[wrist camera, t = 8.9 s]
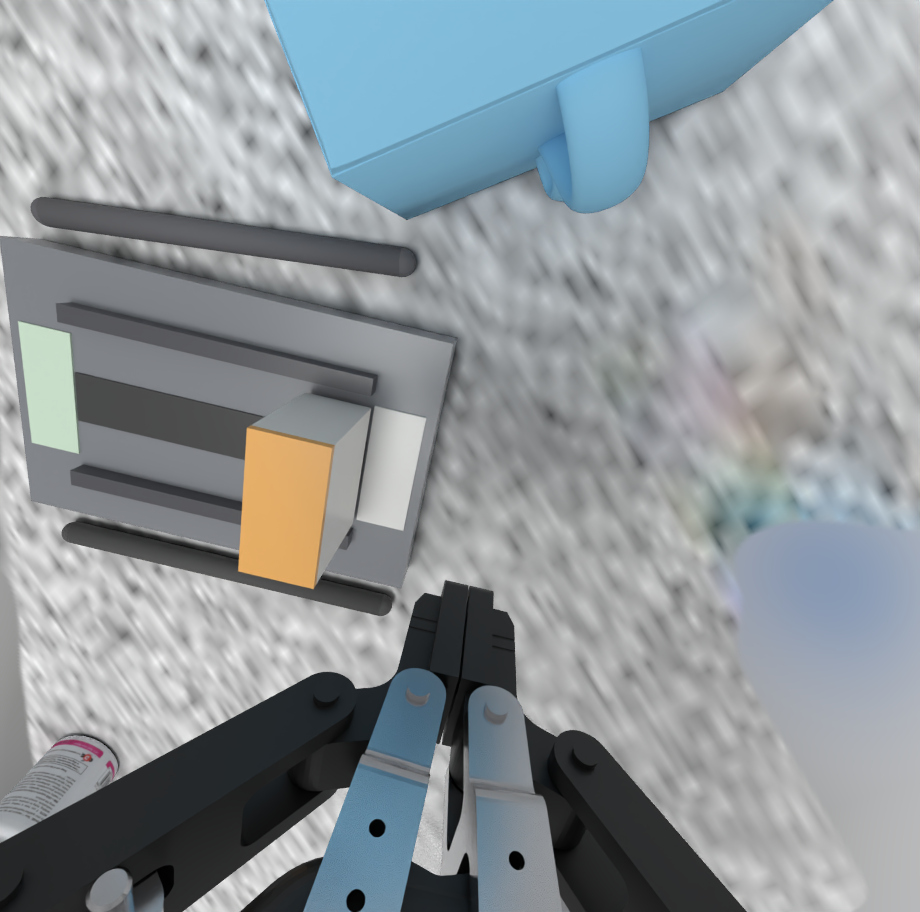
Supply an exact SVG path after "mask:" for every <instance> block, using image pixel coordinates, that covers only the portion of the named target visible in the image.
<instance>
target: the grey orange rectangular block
mask: <svg viewBox="0 0 920 912" xmlns="http://www.w3.org/2000/svg"><path fill="white" fill-rule="evenodd" d="M370 412H371V408H369V407H365V406H361V405H356V404H352V403H348V402H344V401H340V400H335V399H331V398H327V397H323V396H319V395H314V394H310V393H304V394H302V395H301V396H299V397H297V398H296V399H294V400H292V401H291V402H289V403H287V404H286V405H284V406H282V407H281V408H279V409H277V410H276V411H274V412H272V413H271V414H269V415H267V416H266V417H264V418H262V419H261V420H259V421H257V422H256V423H254V424H252V425H251V426H249V427H247V434H246V451H245V467H244V484H243V500H242V516H241V533H240V549H239V566H238V571H239V572H243V573H247V574H252V575H256V576H260V577H264V578H269V579H273V580H277V581H281V582H285V583H290V584H294V585H298V586H302V587H307V588H311V589H314V587H315V586H316V584H317V582H318V581H319V579H320V577H321V576H322V574H323V572H324V571H325V569H326V567H327V566H328V564H329V562H330V561H331V559H332V557H333V556H334V554H335V552H336V551H337V549H338V547H339V546H340V544H341V542H342V541H343V539H344V537H345V536H346V534H347V532H348V531H349V529H350V527H351V526H352V524H353V519H354V513H355V507H356V501H357V494H358V488H359V482H360V475H361V469H362V463H363V457H364V450H365V444H366V438H367V431H368V425H369V419H370Z"/></svg>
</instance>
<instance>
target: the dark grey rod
mask: <svg viewBox="0 0 920 912" xmlns="http://www.w3.org/2000/svg"><path fill="white" fill-rule="evenodd" d="M62 537H63V539H64V540H66V541H67V542H70V543H74V544H78V545H82V546H87V547H91V548H95V549H99V550H104V551H108V552H112V553H116V554H120V555H125V556H129V557H133V558H137V559H141V560H146V561H150V562H154V563H158V564H163V565H167V566H171V567H175V568H179V569H184V570H188V571H192V572H196V573H201V574H205V575H209V576H213V577H217V578H222V579H226V580H230V581H234V582H239V583H243V584H247V585H251V586H255V587H260V588H264V589H268V590H272V591H276V592H281V593H285V594H289V595H293V596H298V597H302V598H306V599H310V600H314V601H319V602H323V603H327V604H331V605H336V606H340V607H344V608H348V609H352V610H357V611H361V612H365V613H369V614H374V615H378V616H384V615H386V614H388V613H389V612H390V610H391V608H392V601H391V599H390V597H388V596H387V595H385V594H381V593H377V592H372V591H368V590H364V589H360V588H355V587H351V586H347V585H343V584H339V583H334V582H330V581H326V580H322V579H319V581H318V582H317V584H316V586H315V587H314V589H311V588H307V587H302V586H298V585H294V584H290V583H285V582H281V581H277V580H273V579H269V578H264V577H260V576H256V575H252V574H247V573H243V572H239V571H238V566H239V560H237V559H233V558H229V557H225V556H221V555H216V554H212V553H208V552H204V551H199V550H195V549H191V548H187V547H183V546H178V545H174V544H170V543H166V542H161V541H157V540H153V539H149V538H145V537H140V536H136V535H132V534H128V533H124V532H119V531H115V530H111V529H107V528H102V527H98V526H94V525H90V524H86V523H81V522H72V523H69V524H67V525H66V526H65V527H64V528H63V530H62Z"/></svg>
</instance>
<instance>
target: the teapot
mask: <svg viewBox="0 0 920 912" xmlns="http://www.w3.org/2000/svg"><path fill="white" fill-rule="evenodd" d="M264 1H265V3H266V6H267V9H268V11H269V14H270V16H271V19H272V22H273V24H274V27H275V29H276V32H277V35H278V37H279V40H280V42H281V45H282V48H283V50H284V53H285V56H286V58H287V61H288V63H289V66H290V69H291V71H292V74H293V76H294V79H295V82H296V84H297V87H298V89H299V92H300V95H301V97H302V100H303V102H304V105H305V108H306V110H307V113H308V116H309V118H310V121H311V123H312V126H313V129H314V131H315V134H316V136H317V139H318V142H319V144H320V147H321V149H322V152H323V155H324V157H325V160H326V162H327V165H328V168H329V170H330V173H331V175H332V178H334V179H336V180H338V181H339V182H341V183H343V184H345V185H346V186H348V187H350V188H352V189H353V190H355V191H357V192H359V193H361V194H362V195H364V196H366V197H368V198H369V199H371V200H373V201H375V202H376V203H378V204H380V205H382V206H383V207H385V208H387V209H389V210H390V211H392V212H394V213H396V214H398V215H399V216H401V217H403V218H405V219H406V220H408V219H410V218H413V217H415V216H418V215H420V214H423V213H425V212H428V211H430V210H433V209H435V208H438V207H440V206H443V205H445V204H448V203H450V202H453V201H455V200H458V199H460V198H463V197H465V196H468V195H470V194H473V193H475V192H478V191H480V190H483V189H485V188H487V187H490V186H492V185H495V184H497V183H500V182H502V181H505V180H507V179H510V178H512V177H515V176H517V175H520V174H522V173H525V172H527V171H530V170H532V169H534V168H537V169H538V172H539V175H540V178H541V181H542V184H543V187H544V189H545V192H546V193H547V195H548V196H549V197H550V198H551V199H553V200H556V201H564V202H565V204H566V205H567V206H568V207H569V208H570V209H571V210H573V211H576V212H578V213H594V212H599V211H602V210H605V209H608V208H611V207H613V206H615V205H617V204H619V203H620V202H622V201H624V200H625V199H626V198H628V197H629V196H630V195H631V194H632V193H633V192H634V191H635V190H636V189H637V188H638V186H639V185H640V183H641V181H642V179H643V176H644V174H645V170H646V166H647V159H648V149H649V122H650V121H652V120H655V119H657V118H660V117H662V116H665V115H667V114H670V113H672V112H674V111H677V110H679V109H682V108H684V107H687V106H689V105H692V104H694V103H696V102H699V101H701V100H704V99H706V98H709V97H711V96H713V95H716V94H718V93H721V92H723V91H724V90H725V89H726V88H728V87H729V86H730V85H731V84H733V83H734V82H735V81H736V80H737V79H739V78H740V77H741V76H742V75H743V74H745V73H746V72H747V71H748V70H750V69H751V68H752V67H753V66H754V65H756V64H757V63H758V62H759V61H760V60H762V59H763V58H764V57H765V56H766V55H768V54H769V53H770V52H771V51H773V50H774V49H775V48H776V47H777V46H779V45H780V44H781V43H782V42H783V41H785V40H786V39H787V38H788V37H789V36H791V35H792V34H793V33H794V32H796V31H797V30H798V29H799V28H800V27H802V26H803V25H804V24H805V23H806V22H808V21H809V20H810V19H811V18H813V17H814V16H815V15H816V14H817V13H819V12H820V11H821V10H822V9H823V8H825V7H826V6H827V5H828V4H829V3H831V2H832V1H833V0H264Z"/></svg>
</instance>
